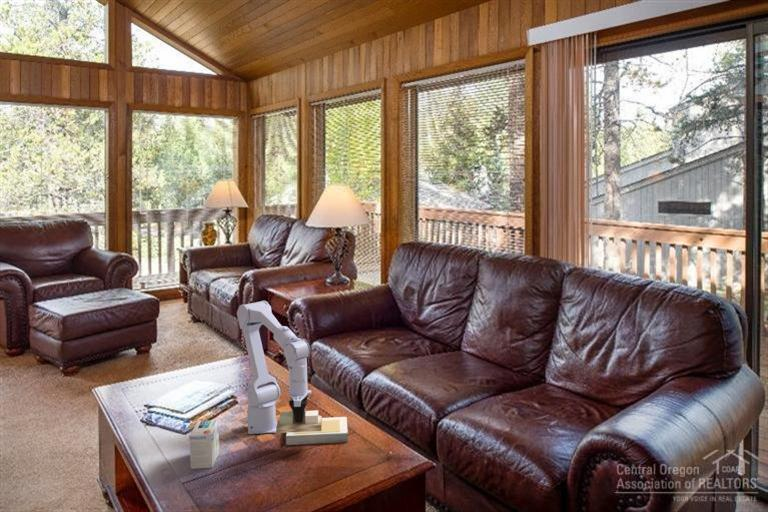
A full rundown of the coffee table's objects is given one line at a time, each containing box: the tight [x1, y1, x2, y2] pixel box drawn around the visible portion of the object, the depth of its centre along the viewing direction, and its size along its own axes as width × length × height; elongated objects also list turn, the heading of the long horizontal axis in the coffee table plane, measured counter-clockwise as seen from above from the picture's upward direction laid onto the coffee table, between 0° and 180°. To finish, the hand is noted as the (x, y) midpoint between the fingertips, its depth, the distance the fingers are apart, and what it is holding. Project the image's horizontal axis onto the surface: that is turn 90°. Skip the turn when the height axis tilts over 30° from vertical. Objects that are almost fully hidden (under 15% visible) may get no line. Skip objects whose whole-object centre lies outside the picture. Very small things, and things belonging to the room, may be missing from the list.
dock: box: [285, 416, 349, 446], centre depth 194 cm, size 20×14×3 cm
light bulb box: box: [188, 419, 220, 469], centre depth 177 cm, size 11×7×11 cm, turn 5°
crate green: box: [279, 411, 293, 425], centre depth 183 cm, size 4×4×2 cm
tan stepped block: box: [275, 407, 323, 434], centre depth 184 cm, size 14×7×6 cm, turn 95°
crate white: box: [305, 409, 319, 424], centre depth 184 cm, size 4×4×2 cm
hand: (299, 419), depth 184 cm, fingers closed on tan stepped block, 3 cm apart
